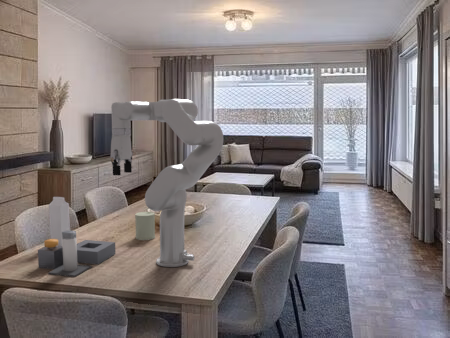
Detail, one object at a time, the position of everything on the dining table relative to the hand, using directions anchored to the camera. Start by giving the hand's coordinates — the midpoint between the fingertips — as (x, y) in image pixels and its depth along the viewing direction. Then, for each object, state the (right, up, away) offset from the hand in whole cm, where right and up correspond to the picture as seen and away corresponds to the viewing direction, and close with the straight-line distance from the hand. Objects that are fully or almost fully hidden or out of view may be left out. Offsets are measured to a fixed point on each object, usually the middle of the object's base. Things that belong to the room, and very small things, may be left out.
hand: (122, 173), depth 190 cm
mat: (-15, -36, -20) cm, 44 cm away
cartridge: (-15, -35, -20) cm, 43 cm away
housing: (-12, -34, -4) cm, 36 cm away
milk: (-30, -32, +12) cm, 46 cm away
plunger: (-24, -34, -15) cm, 44 cm away
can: (+5, -31, +26) cm, 41 cm away
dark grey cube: (-24, -35, -14) cm, 45 cm away
